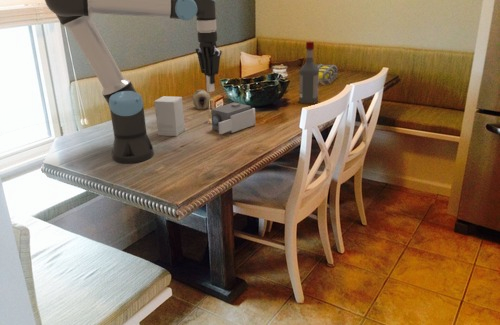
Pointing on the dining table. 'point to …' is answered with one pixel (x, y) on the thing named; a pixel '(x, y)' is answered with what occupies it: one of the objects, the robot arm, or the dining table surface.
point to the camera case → (226, 113)
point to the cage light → (327, 74)
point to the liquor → (309, 78)
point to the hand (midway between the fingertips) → (210, 91)
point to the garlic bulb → (201, 99)
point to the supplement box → (169, 115)
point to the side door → (238, 121)
